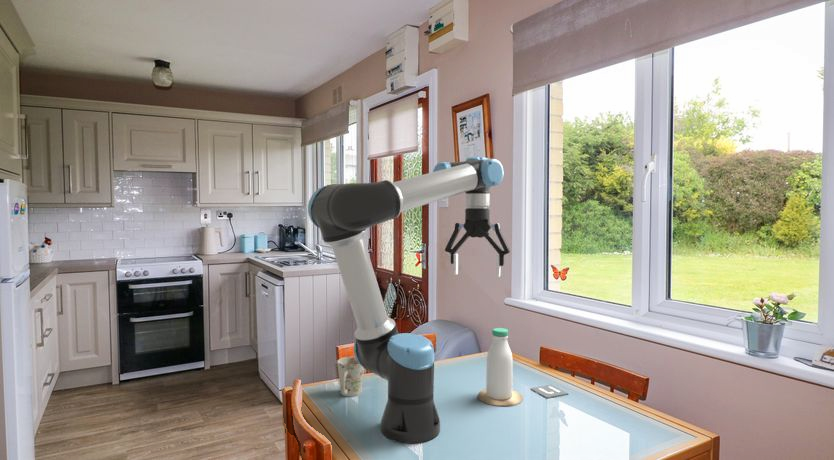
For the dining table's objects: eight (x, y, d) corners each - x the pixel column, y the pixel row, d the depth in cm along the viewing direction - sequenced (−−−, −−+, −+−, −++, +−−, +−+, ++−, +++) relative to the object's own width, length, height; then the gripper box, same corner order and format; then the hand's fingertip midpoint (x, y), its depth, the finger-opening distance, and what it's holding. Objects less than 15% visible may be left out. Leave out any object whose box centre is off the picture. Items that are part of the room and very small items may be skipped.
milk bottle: (514, 400, 144) (515, 332, 143) (487, 400, 144) (488, 332, 143) (509, 390, 152) (510, 326, 151) (484, 390, 152) (485, 326, 151)
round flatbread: (493, 409, 139) (493, 407, 139) (470, 393, 151) (470, 391, 151) (531, 402, 145) (531, 400, 144) (506, 387, 156) (506, 385, 156)
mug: (367, 388, 154) (367, 357, 154) (358, 404, 142) (358, 370, 142) (341, 387, 155) (341, 356, 155) (330, 403, 143) (330, 369, 142)
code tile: (547, 398, 147) (547, 396, 147) (530, 389, 155) (530, 387, 155) (568, 394, 151) (568, 392, 151) (551, 385, 158) (551, 384, 158)
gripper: (519, 207, 154) (518, 275, 155) (442, 207, 162) (441, 271, 163) (516, 207, 147) (515, 279, 148) (435, 207, 155) (435, 274, 156)
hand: (476, 275), depth 155 cm, fingers open, 13 cm apart
